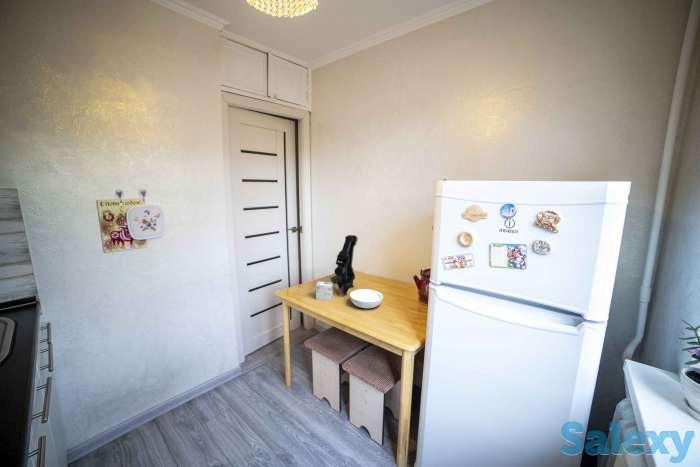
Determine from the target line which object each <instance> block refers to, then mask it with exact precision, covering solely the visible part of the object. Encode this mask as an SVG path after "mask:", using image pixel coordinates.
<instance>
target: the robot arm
mask: <svg viewBox="0 0 700 467" xmlns="http://www.w3.org/2000/svg"><path fill="white" fill-rule="evenodd" d="M344 239H345V240H344V244H343V247H342V249H341V250H340V251H339V252H338V254H337V256H336V261H335V265H337V267H336V268H335V269H334V276H331V277H330V282H333V285H336V284H337V287H338V288H343V290H344V295H345V296H347V295H346V293H347V294H348V291H349V290H350V289H351V288H355V286H354V280H356V275H355V272H354V268H353V260H354V250H355V246H357V242H358V241H359V240H358V236H357V235H355V234H354V235H352V234H348V235H346V236H345V238H344ZM338 288H337V289H338Z"/></svg>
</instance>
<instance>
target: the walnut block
mask: <svg viewBox="0 0 700 467" xmlns="http://www.w3.org/2000/svg"><path fill="white" fill-rule="evenodd" d="M337 295H339V297H344V296H348V292H347V293H346V295H344V290H343V287H342V288H337Z"/></svg>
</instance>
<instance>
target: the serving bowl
mask: <svg viewBox="0 0 700 467" xmlns="http://www.w3.org/2000/svg"><path fill="white" fill-rule="evenodd" d="M349 297H350V298H349V299H350V301H351V302H352V303H353V304H354V305H355V306H356V307H358V308H362V309H372V308H376V307H378V306H379V305H380V304H382V301H383V298H384V296H383V294H382V293H381V292H379V291H377V290H374V289H368V288H362V289H361V288H360V289H356V290H353V291H351V292H350V293H349Z"/></svg>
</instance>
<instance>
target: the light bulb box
mask: <svg viewBox="0 0 700 467" xmlns="http://www.w3.org/2000/svg"><path fill="white" fill-rule="evenodd" d="M333 285H334V284H333V282H332V281H317V283H316V284H315V300H316V301H317V300H318V301H319V300H320V301H332V300H333V297H334V286H333Z"/></svg>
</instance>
